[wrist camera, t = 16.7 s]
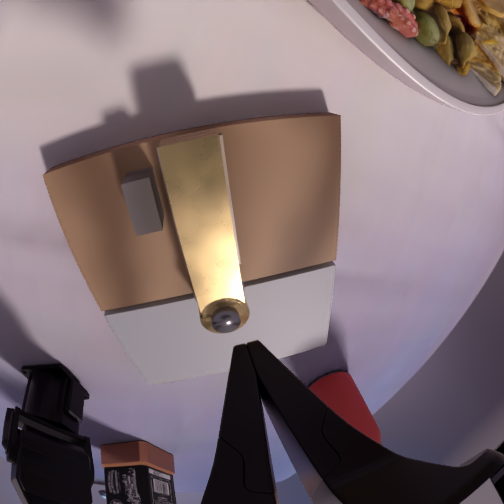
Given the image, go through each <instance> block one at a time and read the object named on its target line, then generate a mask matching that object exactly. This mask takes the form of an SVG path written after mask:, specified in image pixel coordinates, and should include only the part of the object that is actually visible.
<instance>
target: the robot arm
mask: <svg viewBox="0 0 504 504" xmlns="http://www.w3.org/2000/svg"><path fill="white" fill-rule="evenodd" d="M21 372H22V373H23V374H24V375H25V376H26V377H27V378H28V383H27V387H26V391H25V396H24V400H23V405H22V410H21V409H20V408H19V407H17V406H15V409H13V408H12V409H11V408H7V411H6V416H5V421H4V427H3V436H2V445H3V447H4V449H5V454H6V460H7V462H10V463H12V467H11V481H12V484H13V486H14V488H15V490H16V492H17V494H18V496H19V498H20V500H21V501H22V503H23V504H92V494H91V487H92V485H93V482H94V464H93V458H92V452H91V445H90V438H89V437H86V436H81V435H79V434H78V431H79V422H82V417H83V406H84V400H85V399H89V394H88V393H87V392H86V391H85V390H84V389H83V388H82V386H81V385H80V384H79V383H78V382H77V381H76V380H75V379H74V378H73V377H72V375H71V374H70V373H69V372H68V371H67V370H66V369H65V367H64V366H62V365H60V364H56V365H43V366H28V367H22V368H21ZM261 399H262V401H261ZM262 402H263V404H264V407H265V409H266V411H267V413H268V415H269V417H270V420H271V422H272V424H273V426H274V428H275V430H276V432H277V434H278V436H279V438H280V440H281V442H282V444H283V446H284V448H285V450H286V452H287V454H288V456H289V458H290V460H291V462H292V464H293V466H294V468H295V470H296V472H297V474H298V476H299V478H300V480H301V481H302V483H303V485H304V487H305V489H306V491H307V493H308V494H309V496H310V498H311V500H312V502H313V504H504V440H503V441H502V442H501V443H500V444H499V445H498V446H497V447H496V448H495V449H494V450H491V449H485V450H483V451H482V452H480V453H478V454H477V455H475V456H474V457H472V458H471V459H469V460H467V461H466V462H464V463H463V464H461V465H459V466H458V467H452V466H446V465H440V464H435V463H430V462H425V461H420V460H415V459H411V458H407V457H404V456H401V455H399V454H396V453H394V452H392V451H391V450H389V449H387V448H385V447H383V446H382V445H381V444H379V443H377V442H376V441H374V440H373V439H371V438H369V437H368V436H366V435H365V434H363V433H362V432H360V431H359V430H357V429H356V428H354V427H353V426H351V425H350V424H349V423H347V422H346V421H345V420H344V419H343V418H341V417H340V416H339V415H338V414H336V413H335V412H334V411H333V410H332V409H331V408H330V407H327V405H326V404H325V403H324V402H323V401H322V400H321V399H320V398H319V397H318V396H317V395H315V394H314V393H313V392H312V391H311V390H310V389H309V388H308V387H307V386H306V385H305V384H304V383H303V382H301V381H300V380H299V379H298V378H297V377H296V376H295V375H294V374H293V373H292V372H291V371H290V370H289V369H288V368H287V367H286V366H285V365H284V364H283V363H282V362H281V361H280V360H279V359H278V358H277V357H275V356H274V355H273V354H272V353H271V352H270V351H269V350H268V349H267V348H266V347H265V346H264V345H263V344H262V343H261V342H260V341H259V340H254V341H251V342H248V343H247V344H245V343H243V344H239V345H235V346H234V347H233V351H232V357H231V364H230V370H229V376H228V382H227V388H226V394H225V400H224V406H223V412H222V419H221V425H220V431H219V438H218V442H217V448H216V453H215V458H214V463H213V467H212V470H211V474H210V477H209V480H208V483H207V487H206V490H205V493H204V496H203V499H202V502H201V504H279V500H278V495H277V489H276V483H275V477H274V471H273V466H272V460H271V454H270V448H269V442H268V436H267V430H266V424H265V418H264V412H263V406H262ZM18 427H20V428H22V430H20V429H18Z"/></svg>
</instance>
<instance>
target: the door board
mask: <svg viewBox="0 0 504 504" xmlns="http://www.w3.org/2000/svg"><path fill="white" fill-rule="evenodd" d="M213 128H214V129H215V131H216V132H217V133H218V134H219V138H220V145H221V152H222V159H223V166H224V172H225V179H226V186H227V192H228V199H229V206H230V212H231V219H232V225H233V231H234V238H235V244H236V251H237V257H238V263H239V269H240V275H241V279H242V281H243V282H245V281H250V280H254V279H258V278H263V277H267V276H271V275H276V274H280V273H284V272H288V271H293V270H297V269H301V268H305V267H309V266H313V265H317V264H322V263H326V262H330V261H334V260H336V254H337V241H338V225H339V206H340V176H341V119H340V115H337V114H333V113H329V112H328V113H307V114H293V115H281V116H271V117H261V118H253V119H245V120H238V121H231V122H224V123H218V124H212V125H206V126H200V127H195V128H190V129H185V130H180V131H175V132H171V133H166V134H162V135H157V136H153V137H149V138H145V139H141V140H137V141H133V142H130V143H126V144H122V145H119V146H115V147H112V148H109V149H105V150H102V151H99V152H96V153H93V154H89V155H86V156H83V157H80V158H77V159H75V160H72V161H69V162H66V163H63V164H61V165H58V166H55V167H53V168H51V169H50V170H49V171H47V172H46V173H45V174H43V177H44V181H45V184H46V187H47V190H48V193H49V196H50V198H51V201H52V204H53V207H54V210H55V212H56V215H57V217H58V220H59V223H60V225H61V228H62V230H63V233H64V235H65V237H66V240H67V242H68V244H69V247H70V249H71V251H72V253H73V256H74V258H75V260H76V262H77V264H78V266H79V269H80V271H81V273H82V275H83V277H84V279H85V281H86V283H87V285H88V287H89V289H90V291H91V293H92V294H93V296H94V298H95V300H96V302H97V304H98V306H99V307H100V309H101V311H105V310H111V309H116V308H121V307H126V306H131V305H136V304H142V303H147V302H152V301H156V300H161V299H166V298H171V297H176V296H181V295H186V294H190V293H194V288H193V285H192V282H191V278H190V275H189V271H188V268H187V264H186V261H185V257H184V254H183V250H182V246H181V243H180V239H179V235H178V231H177V227H176V224H175V220H174V216H173V212H172V208H171V204H170V200H169V195H168V191H167V187H166V183H165V178H164V174H163V169H162V165H161V160H160V156H159V151H158V146H159V143H160V140H161V139H164V138H168V137H173V136H177V135H182V134H187V133H192V132H197V131H202V130H208V129H213Z"/></svg>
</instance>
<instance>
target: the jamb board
mask: <svg viewBox="0 0 504 504" xmlns="http://www.w3.org/2000/svg"><path fill="white" fill-rule="evenodd" d="M335 266H336V265H335V264H334V263H333V261H330V262H326V263H322V264H317V265H313V266H309V267H305V268H301V269H297V270H293V271H288V272H284V273H280V274H276V275H271V276H267V277H263V278H258V279H254V280H250V281H245V282H243V281H242V279H241V282H242V288H243V292H244V295H245V298H246V301H247V304H248V307H249V311H250V315H249V318H248V320H247V322H246V323H245V324H244V325H243V326H242V327H241V328H239V329H238V330H236V331H233V332H230V333H223V334H219V333H213V332H210V331H208V330H207V329H205V328H204V327H203V325H202V324H201V321H200V315H199V308H198V302H197V298H196V295H195V292H194V293H190V294H186V295H181V296H176V297H171V298H166V299H161V300H156V301H152V302H147V303H142V304H136V305H131V306H126V307H121V308H116V309H111V310H105V315H104V316H105V318H106V320H107V322H108V323H109V325H110V327H111V328H112V330H113V332H114V333H115V335H116V337H117V338H118V340H119V342H120V343H121V345H122V346H123V348H124V350H125V351H126V353H127V354H128V356H129V357H130V359H131V360H132V362H133V363H134V365H135V366H136V368H137V369H138V371H139V372H140V374H141V375H142V376H143V378H144V379H145V381H146V382H147V383H148V385H156V384H162V383H169V382H175V381H181V380H187V379H192V378H198V377H203V376H208V375H213V374H218V373H223V372H227V371H229V370H230V364H231V357H232V351H233V347H234V346H235V345H239V344H243V343H245V344H247V343H248V342H251V341H254V340H259V341H260V342H261V343H262V344H263V345H264V346H265V347H266V348H267V349H268V350H269V351H270V352H271V353H272V354H273V355H274V356H275V357H277V358H278V359H280V358H284V357H287V356H291V355H294V354H298V353H301V352H305V351H308V350H311V349H315V348H318V347H321V346H324V345H326V343H327V336H328V329H329V321H330V313H331V305H332V296H333V287H334V277H335Z"/></svg>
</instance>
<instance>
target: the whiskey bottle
mask: <svg viewBox="0 0 504 504" xmlns="http://www.w3.org/2000/svg"><path fill="white" fill-rule="evenodd" d="M101 464H102V467H103V468H104V474H105V488H106V499H107V504H176V497H175V490H174V482H173V474H174V473H175V469H174V458H173V455H171V454H169V453H167V452H165V451H163V450H161V449H159V448H157V447H155V446H153V445H151V444H150V443H148V442H144V441H134V442H126V443H118V444H109V445H101Z"/></svg>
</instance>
